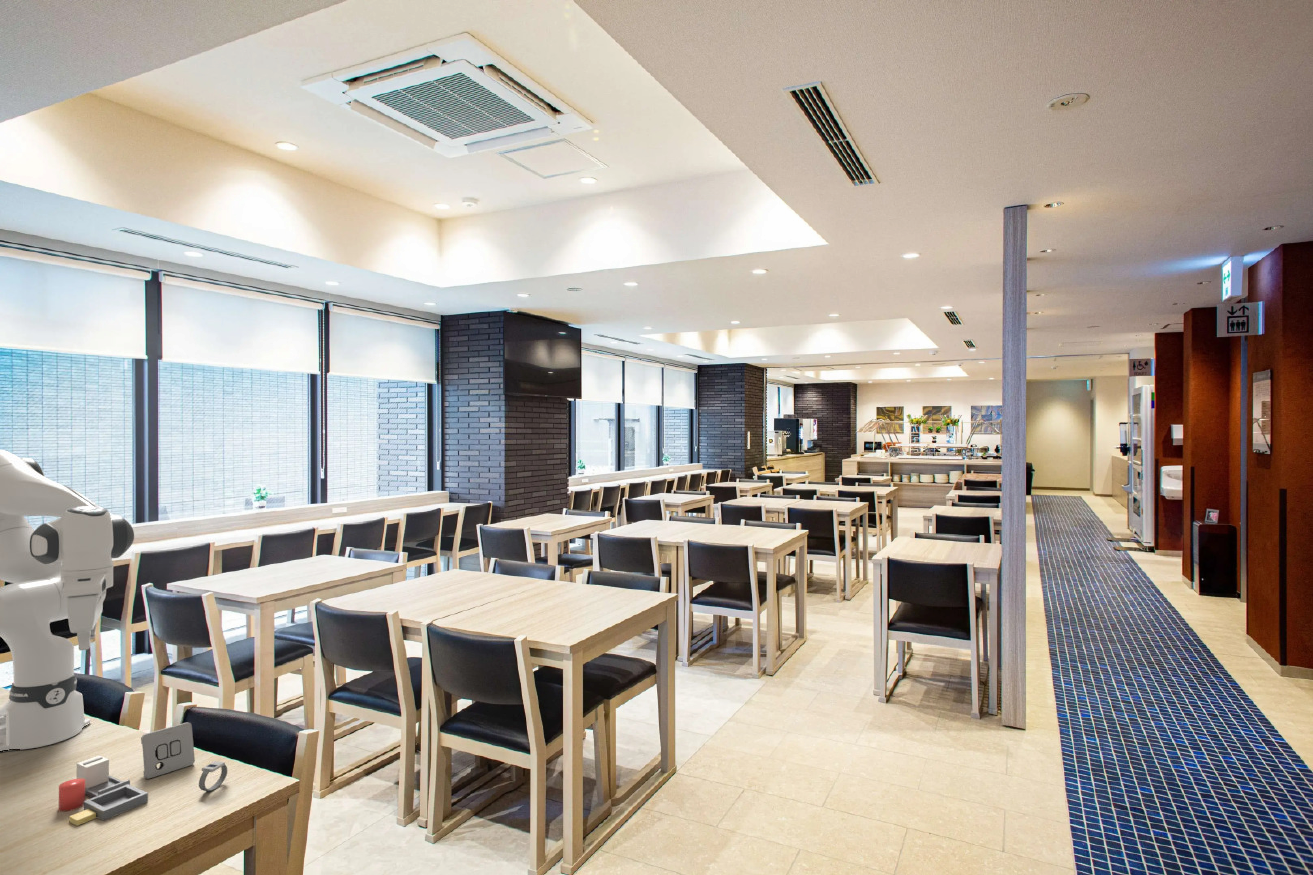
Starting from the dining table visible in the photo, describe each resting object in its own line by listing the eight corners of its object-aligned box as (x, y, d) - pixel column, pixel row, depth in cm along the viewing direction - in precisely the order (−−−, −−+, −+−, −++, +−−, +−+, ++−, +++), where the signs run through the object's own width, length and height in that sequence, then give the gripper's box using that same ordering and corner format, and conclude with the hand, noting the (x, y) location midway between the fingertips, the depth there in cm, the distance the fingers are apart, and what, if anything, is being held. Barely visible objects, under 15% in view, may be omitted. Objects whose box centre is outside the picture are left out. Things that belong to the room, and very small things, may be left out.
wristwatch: (219, 780, 146) (219, 757, 146) (230, 782, 145) (230, 758, 145) (195, 795, 140) (195, 771, 140) (206, 797, 139) (206, 772, 139)
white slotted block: (76, 784, 143) (76, 762, 143) (99, 776, 146) (99, 754, 146) (86, 789, 141) (86, 766, 141) (108, 780, 144) (108, 758, 144)
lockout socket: (63, 818, 131) (63, 809, 131) (127, 792, 140) (128, 783, 140) (83, 828, 127) (83, 819, 127) (147, 801, 137) (147, 792, 137)
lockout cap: (54, 808, 135) (54, 785, 135) (79, 798, 138) (79, 776, 138) (64, 813, 133) (64, 790, 133) (88, 803, 136) (89, 781, 136)
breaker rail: (67, 786, 143) (67, 776, 143) (98, 774, 148) (98, 765, 148) (99, 801, 137) (99, 791, 137) (129, 789, 142) (129, 779, 142)
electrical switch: (145, 781, 145) (144, 736, 146) (137, 776, 149) (137, 732, 149) (195, 765, 153) (194, 722, 153) (187, 760, 156) (186, 719, 157)
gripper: (75, 575, 156) (75, 635, 155) (61, 590, 139) (61, 658, 138) (110, 572, 159) (110, 631, 159) (100, 586, 142) (100, 652, 142)
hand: (87, 643), depth 149 cm, fingers open, 8 cm apart
